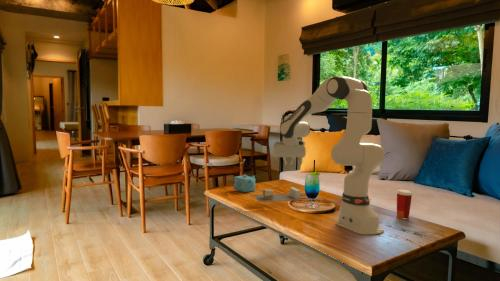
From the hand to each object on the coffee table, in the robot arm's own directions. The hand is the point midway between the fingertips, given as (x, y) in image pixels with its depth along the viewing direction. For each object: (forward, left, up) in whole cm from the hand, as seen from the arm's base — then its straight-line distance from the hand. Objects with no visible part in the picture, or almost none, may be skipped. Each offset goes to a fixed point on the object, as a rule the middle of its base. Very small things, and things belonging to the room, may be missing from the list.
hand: (288, 164), depth 201 cm
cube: (0, +12, -20) cm, 24 cm away
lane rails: (0, +1, -21) cm, 21 cm away
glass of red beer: (-46, -45, -21) cm, 68 cm away
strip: (0, +6, -21) cm, 22 cm away
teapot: (+21, +20, -21) cm, 36 cm away
